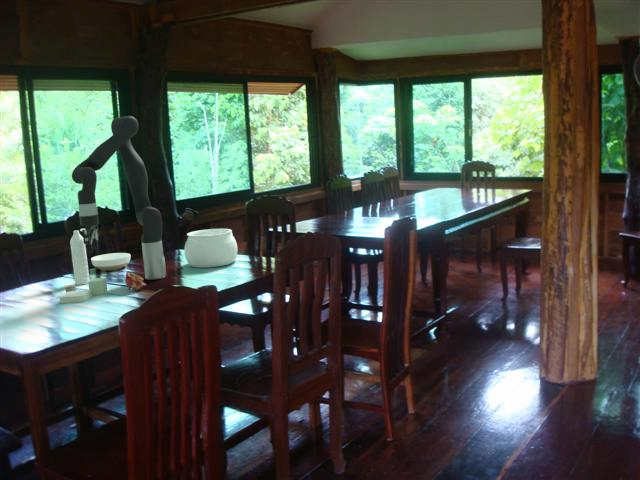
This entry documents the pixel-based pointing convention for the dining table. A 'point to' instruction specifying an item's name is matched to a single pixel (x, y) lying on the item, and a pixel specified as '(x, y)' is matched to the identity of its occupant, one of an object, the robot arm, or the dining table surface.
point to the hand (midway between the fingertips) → (92, 251)
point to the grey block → (70, 288)
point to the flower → (133, 281)
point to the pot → (210, 248)
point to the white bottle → (79, 258)
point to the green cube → (98, 286)
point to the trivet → (75, 296)
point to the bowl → (111, 261)
